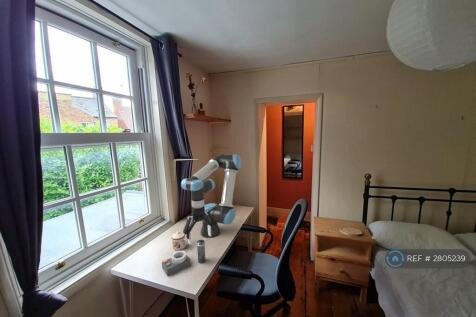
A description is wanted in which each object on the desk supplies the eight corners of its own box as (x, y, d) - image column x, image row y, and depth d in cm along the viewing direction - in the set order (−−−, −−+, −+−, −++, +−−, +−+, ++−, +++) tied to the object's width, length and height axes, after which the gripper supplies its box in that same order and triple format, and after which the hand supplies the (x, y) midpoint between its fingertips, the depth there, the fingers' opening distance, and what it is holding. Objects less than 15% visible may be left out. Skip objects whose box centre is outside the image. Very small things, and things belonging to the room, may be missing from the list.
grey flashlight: (203, 257, 124) (202, 238, 122) (207, 261, 120) (206, 241, 119) (196, 260, 121) (195, 241, 119) (200, 264, 117) (199, 244, 116)
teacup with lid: (169, 249, 134) (168, 233, 133) (178, 242, 142) (177, 227, 141) (183, 253, 130) (182, 236, 128) (191, 245, 138) (190, 230, 136)
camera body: (184, 257, 125) (183, 248, 124) (190, 264, 118) (189, 255, 117) (162, 267, 116) (161, 258, 115) (167, 276, 109) (166, 265, 108)
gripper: (212, 199, 127) (214, 230, 129) (175, 209, 111) (178, 244, 114) (219, 202, 121) (220, 234, 123) (180, 213, 105) (183, 250, 108)
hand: (200, 239), depth 118 cm, fingers open, 13 cm apart
